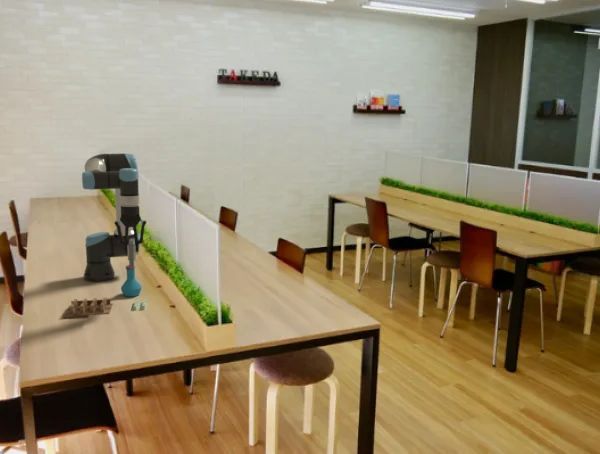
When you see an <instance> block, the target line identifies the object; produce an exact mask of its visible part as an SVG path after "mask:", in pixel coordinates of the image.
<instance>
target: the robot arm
mask: <svg viewBox="0 0 600 454" xmlns="http://www.w3.org/2000/svg"><path fill="white" fill-rule="evenodd" d="M138 169H139V168H138V163H137V159H136V156H135V155H134V154H133V153H100V154H96V155H94V156H92V157H90V158H88V159H87V160H86V162H85V164H84V172H82V173H81V180H82V181H81V183H82V188H83V189H84V190H92V191H93V190H114V194H115V195H114V197H115V217H116V218H115V221H114V225H115V227H116V228H115V230H114V231H113V234H110V232H108V231H99V232H95V233H91V234H89V235H87V236H86V238H85V245H84V246H85V256H86V265H85V269H84V273H83V280H85V281H87V280H88V281H87V282H104V281H109V280H112V278H113V279H114V278H115V277H116V276H115V275H116V273H115V270H114V268H113V266H112V265H113V264H112V263H111V258H119V257H120V258H124V257H125V258H126V257H127V261H129V241H130V239H134V240H135V244H134V260H135V261H136V260H137V255H138V254H139V252H140V247H141V244H142V243H144V241H143V240H144V236H145V235H144V233H145V226H146V224H147V222H148V221H147V220H146V219H145V220H144V219H143V218H142V217H141V215H140V206H139V205H140V193H139V192H140V191H139V178H140V177H139V170H138ZM139 223H140V225H141V227H140V233H138V231H137V227H138V224H139ZM114 276H115V277H114Z"/></svg>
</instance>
